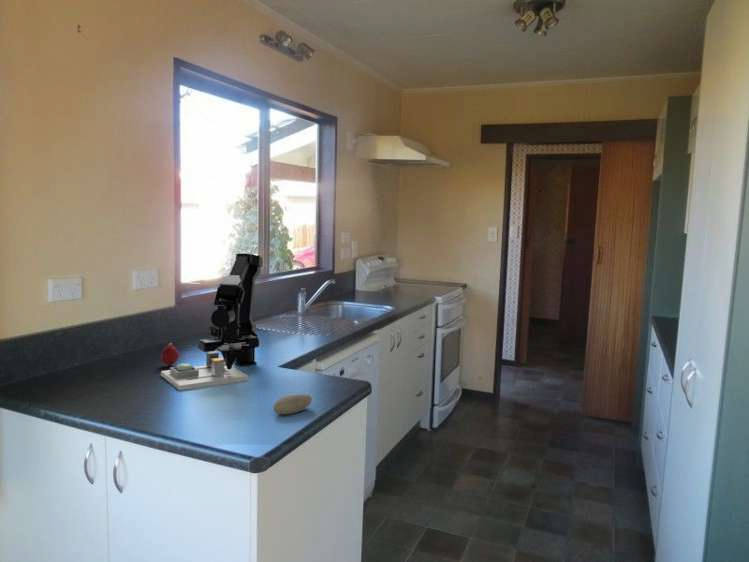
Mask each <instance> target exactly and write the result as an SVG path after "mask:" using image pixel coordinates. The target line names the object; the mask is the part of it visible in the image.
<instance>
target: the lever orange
mask: <svg viewBox="0 0 749 562" xmlns="http://www.w3.org/2000/svg"><path fill="white" fill-rule="evenodd" d="M211 361H212V367H211V374H212V375H213V376H223V375H224V362H225V360H224V358H223V357H219V358H215V359H211Z"/></svg>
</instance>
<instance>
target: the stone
mask: <svg viewBox="0 0 749 562" xmlns="http://www.w3.org/2000/svg"><path fill="white" fill-rule="evenodd" d="M312 401H313V399H312V396H311V395H309V394H306V393H301V394H292V395H287V396H283V397H281V398H278V399H277V400H276V402H274V404H273V411H274V412H275V413H276V414H278V415H291V414H295V413H298V412H301V411H303V410H305V409H306V408H308V407H309V406H310V405H311V403H312Z"/></svg>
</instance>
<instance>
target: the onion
mask: <svg viewBox="0 0 749 562" xmlns="http://www.w3.org/2000/svg"><path fill="white" fill-rule="evenodd" d="M179 357H180V353H179V351H178V349H177V348H176V347H175V346H173V343H172V342H170V343H168V345H167V346H166V347H164V348H163V349H162V351H161V354H160V359H161V361H162V363H164V364H165V365H167V366H168V367H173V365H174V364H175V363H176V362H178V359H179Z"/></svg>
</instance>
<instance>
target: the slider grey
mask: <svg viewBox="0 0 749 562" xmlns="http://www.w3.org/2000/svg"><path fill="white" fill-rule="evenodd" d="M205 354H206V355H205V356H206V358H205V359H206V363H205V364H206V365H205V366H207V367H209V368H211V366H210V364H212V361H211V359H215V358H220V357H219V355H220V351H218V350H215V351H211V352H205Z"/></svg>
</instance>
